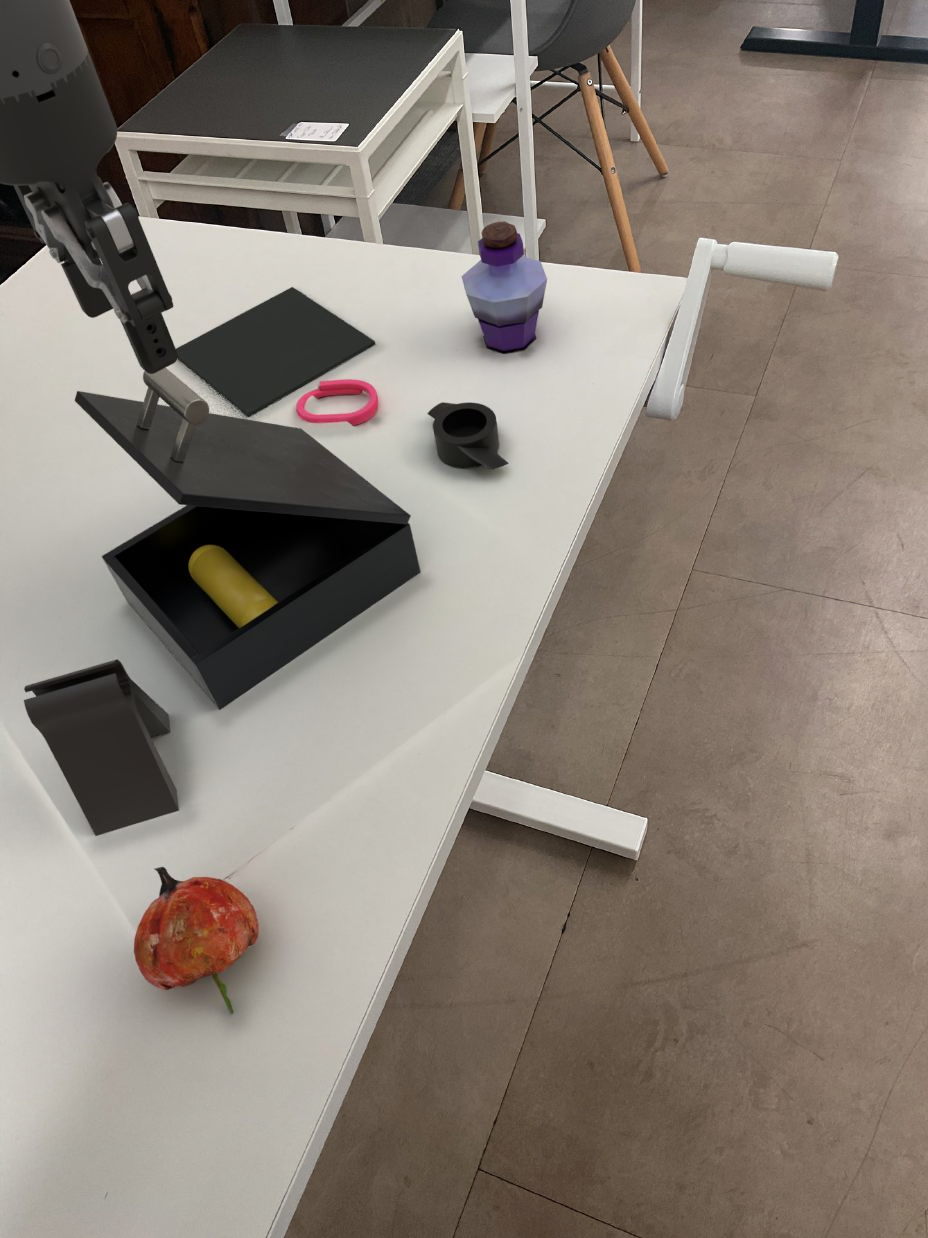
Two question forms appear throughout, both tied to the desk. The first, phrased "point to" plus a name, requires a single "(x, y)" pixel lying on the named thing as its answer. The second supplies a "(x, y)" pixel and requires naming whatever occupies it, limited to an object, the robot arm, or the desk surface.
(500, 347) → the potion bottle
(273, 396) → the mat
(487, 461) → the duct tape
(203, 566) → the yellow capsule
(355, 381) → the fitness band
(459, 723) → the desk surface
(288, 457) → the lid
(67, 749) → the phone stand
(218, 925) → the painted toy pumpkin
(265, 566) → the black open box
